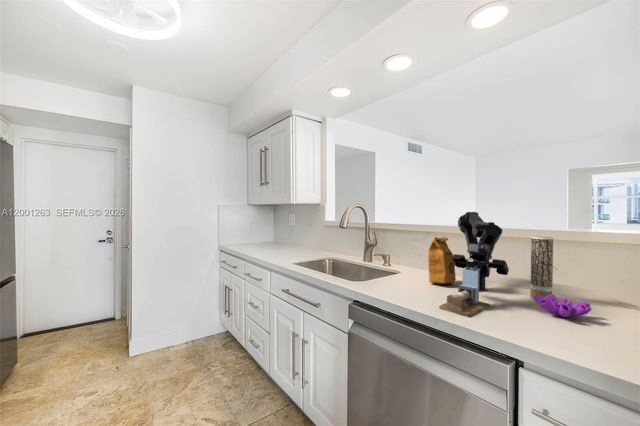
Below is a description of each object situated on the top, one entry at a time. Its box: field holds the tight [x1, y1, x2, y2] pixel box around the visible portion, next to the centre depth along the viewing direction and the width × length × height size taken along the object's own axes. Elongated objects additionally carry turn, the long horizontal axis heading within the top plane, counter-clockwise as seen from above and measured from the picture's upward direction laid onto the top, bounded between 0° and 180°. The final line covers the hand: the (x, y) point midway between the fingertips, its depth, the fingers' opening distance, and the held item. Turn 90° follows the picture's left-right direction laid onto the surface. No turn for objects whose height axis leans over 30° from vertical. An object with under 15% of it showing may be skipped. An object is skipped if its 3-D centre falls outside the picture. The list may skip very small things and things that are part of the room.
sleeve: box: [461, 268, 480, 303], centre depth 101 cm, size 3×5×11 cm, turn 38°
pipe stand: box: [438, 290, 490, 318], centre depth 99 cm, size 17×10×6 cm, turn 128°
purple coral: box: [532, 294, 592, 318], centre depth 92 cm, size 11×15×10 cm
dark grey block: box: [457, 284, 476, 304], centre depth 100 cm, size 2×5×5 cm, turn 38°
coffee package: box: [427, 236, 457, 285], centre depth 132 cm, size 10×12×22 cm
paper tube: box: [530, 235, 554, 299], centre depth 109 cm, size 7×7×25 cm
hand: (471, 281), depth 102 cm, fingers closed, pressing on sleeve
